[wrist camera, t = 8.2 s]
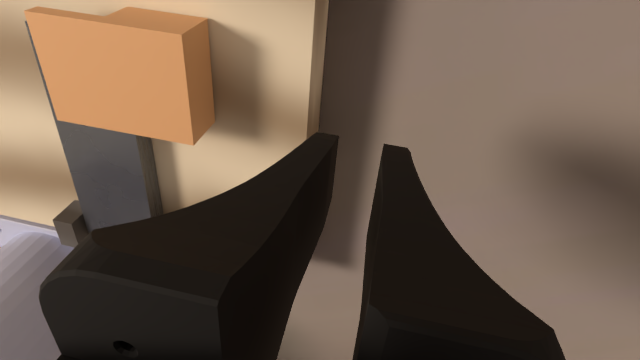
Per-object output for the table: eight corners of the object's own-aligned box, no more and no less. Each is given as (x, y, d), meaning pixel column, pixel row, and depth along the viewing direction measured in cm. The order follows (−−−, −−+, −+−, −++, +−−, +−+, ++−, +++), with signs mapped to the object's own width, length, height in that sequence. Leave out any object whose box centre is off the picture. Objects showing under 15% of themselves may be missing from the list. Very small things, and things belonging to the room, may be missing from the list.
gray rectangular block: (168, 240, 22) (157, 253, 21) (102, 225, 23) (90, 238, 22) (132, 27, 16) (116, 35, 15) (44, 14, 17) (24, 20, 16)
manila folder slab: (215, 121, 18) (193, 145, 16) (89, 99, 18) (57, 120, 17) (207, 18, 15) (181, 34, 14) (63, -3, 16) (23, 10, 14)
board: (309, 248, 24) (288, 306, 21) (29, 188, 26) (-29, 232, 23) (343, -184, 13) (312, -200, 10) (-130, -219, 16) (-278, -243, 12)
